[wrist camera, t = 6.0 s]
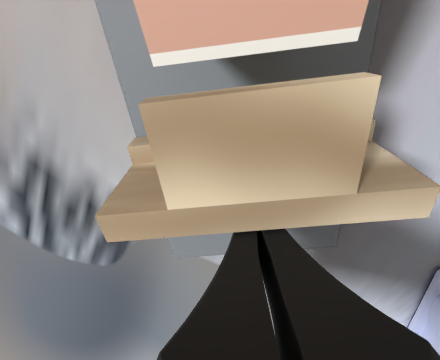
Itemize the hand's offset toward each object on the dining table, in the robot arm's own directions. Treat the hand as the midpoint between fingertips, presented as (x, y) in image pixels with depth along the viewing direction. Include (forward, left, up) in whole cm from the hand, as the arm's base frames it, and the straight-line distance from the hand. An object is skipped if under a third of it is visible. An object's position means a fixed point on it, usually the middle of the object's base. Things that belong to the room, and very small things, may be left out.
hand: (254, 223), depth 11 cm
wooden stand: (+3, 0, -3) cm, 4 cm away
